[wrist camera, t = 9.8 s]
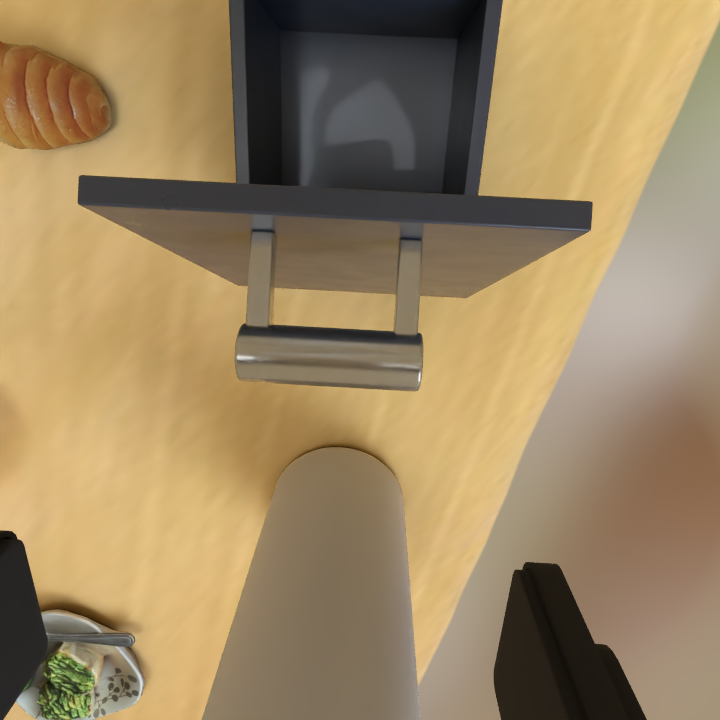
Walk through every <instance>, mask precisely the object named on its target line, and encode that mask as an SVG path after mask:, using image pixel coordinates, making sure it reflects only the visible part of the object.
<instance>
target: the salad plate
mask: <svg viewBox="0 0 720 720" xmlns="http://www.w3.org/2000/svg"><path fill="white" fill-rule="evenodd" d="M41 615H42V619H43V623H44V627H45V631H46V635H47V639H48V647H47V652H46V655H45V657H44V659H43V661H42V663H41V665H40V666H39V667H38V669H37V670H36V672H35V673H34V675H33V676H32V678H31V679H30V681H29V682H28V684H27V685H26V687H25V688H24V690H23V691H22V693H21V694H20V696H19V697H18V698H17V700H16V702H17V703H18V704H19V706H20V707H21V708H22V709H23V710H24V711H26V712H27V713H28V714H29V715H31V716H32V717H33V718H35V719H37V720H94V719H96V718H99V717H101V716H105V715H107V714H110V713H114V712H118V711H120V710H123V709H125V708H128V707H130V706H132V705H134V704H135V703H136V702H137V701H138V699H139V697H140V696H141V695H142V693H143V688H144V684H145V679H144V676H143V674H142V672H141V669H140V667H139V665H138V662H137V659H136V657H135V655H134V653H133V652H132V651H131V650H130V649H129V648H128V647H130V646H132V645H133V644H134V642H135V638H134V636H133V635H132V634H130V633H127V632H123V631H114V630H112V629H110V628H109V627H106V626H103V625H101V624H98V623H96V622H94V621H93V620H91V619H89V618H87V617H84V616H81V615H78V614H74V613H71V612H68V611H65V610H49V611H43V612H41Z"/></svg>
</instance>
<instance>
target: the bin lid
mask: <svg viewBox="0 0 720 720" xmlns="http://www.w3.org/2000/svg"><path fill="white" fill-rule="evenodd" d="M78 204H79V205H81V206H83V207H85V208H87V209H89V210H91V211H93V212H95V213H97V214H99V215H101V216H103V217H105V218H107V219H109V220H110V221H112V222H114V223H116V224H118V225H120V226H122V227H124V228H126V229H128V230H130V231H132V232H134V233H136V234H138V235H140V236H142V237H144V238H146V239H148V240H150V241H152V242H154V243H156V244H158V245H160V246H162V247H163V248H165V249H167V250H169V251H171V252H173V253H175V254H177V255H179V256H181V257H183V258H185V259H187V260H189V261H191V262H193V263H195V264H197V265H199V266H201V267H203V268H205V269H207V270H209V271H211V272H213V273H215V274H217V275H218V276H220V277H222V278H224V279H226V280H228V281H230V282H232V283H234V284H236V285H238V286H248V294H247V313H246V323H245V324H243V325H241V327H240V329H239V332H238V335H237V339H236V346H235V368H236V373H237V377H238V379H239V380H240V381H243V382H260V383H278V384H295V385H313V386H330V387H348V388H365V389H383V390H401V391H418V390H419V387H420V384H421V377H422V368H423V338H422V335H421V334H420V333H418V317H419V300H420V296H437V297H456V298H467V297H469V296H471V295H473V294H475V293H477V292H478V291H480V290H482V289H484V288H486V287H488V286H489V285H491V284H493V283H495V282H497V281H499V280H501V279H502V278H504V277H506V276H508V275H510V274H512V273H513V272H515V271H517V270H519V269H521V268H523V267H525V266H526V265H528V264H530V263H532V262H534V261H536V260H537V259H539V258H541V257H543V256H545V255H547V254H549V253H550V252H552V251H554V250H556V249H558V248H560V247H561V246H563V245H565V244H567V243H569V242H571V241H572V240H574V239H576V238H578V237H580V236H582V235H584V234H585V233H587V232H589V231H590V230H591V220H592V202H590V201H574V200H554V199H535V198H515V197H496V196H476V195H457V194H437V193H418V192H399V191H379V190H360V189H340V188H321V187H301V186H282V185H262V184H243V183H223V182H204V181H185V180H165V179H146V178H126V177H107V176H87V175H81V176H79V184H78ZM274 288H290V289H308V290H327V291H345V292H364V293H382V294H396V297H395V315H394V331H376V330H358V329H340V328H322V327H304V326H286V325H273V307H274Z"/></svg>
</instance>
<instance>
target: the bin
mask: <svg viewBox="0 0 720 720" xmlns="http://www.w3.org/2000/svg"><path fill="white" fill-rule="evenodd" d="M502 2H503V0H229V16H230V40H231V65H232V89H233V113H234V137H235V162H236V183H243V184H262V185H282V186H301V187H321V188H340V189H360V190H379V191H399V192H418V193H437V194H457V195H476V196H478V191H479V183H480V175H481V167H482V160H483V152H484V144H485V136H486V128H487V120H488V112H489V105H490V97H491V89H492V81H493V73H494V65H495V57H496V49H497V42H498V34H499V26H500V18H501V10H502Z"/></svg>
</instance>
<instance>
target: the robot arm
mask: <svg viewBox="0 0 720 720" xmlns="http://www.w3.org/2000/svg"><path fill="white" fill-rule="evenodd" d="M47 647H48V639H47V635H46V631H45V627H44V623H43V619H42V615H41V611H40V607H39V603H38V599H37V595H36V591H35V587H34V583H33V579H32V575H31V571H30V567H29V563H28V559H27V555H26V551H25V547H24V544H23V542H22V541H21V540H18V539H17V537H16V534H14V533H13V532H12V531H0V720H3V719H4V718H5V716H6V715H7V713H8V712H9V710H10V709H11V707H12V706H13V704H14V703H15V701H16V700H17V698H18V697H19V696H20V694H21V693H22V691H23V690H24V688H25V687H26V685H27V684H28V682H29V681H30V679H31V678H32V676H33V675H34V673H35V672H36V670H37V669H38V667H39V666H40V665H41V663H42V661H43V659H44V657H45V655H46V652H47ZM494 687H495V693H496V698H497V702H498V706H499V711H500V716H501V720H647V719H646V717H645V715H644V713H643V711H642V709H641V707H640V705H639V703H638V701H637V698H636V697H635V694H634V692H633V690H632V688H631V686H630V684H629V682H628V680H627V678H626V676H625V674H624V672H623V670H622V668H621V665H620V663H619V661H618V659H617V658H616V656H615V654H614V653H613V651H612V650H611V649H610V648H609V647H608V646H607V645H603V644H595V643H594V641H593V639H592V637H591V634H590V632H589V630H588V628H587V626H586V623H585V621H584V619H583V617H582V614H581V612H580V610H579V608H578V606H577V604H576V601H575V599H574V597H573V595H572V592H571V590H570V588H569V586H568V584H567V581H566V579H565V577H564V575H563V572H562V570H561V569H560V567H559V566H558V565H557V564H549V563H533V562H526V563H525V564H524V566H523V569H522V570H515V571H514V573H513V577H512V582H511V587H510V592H509V597H508V602H507V607H506V612H505V617H504V622H503V627H502V632H501V638H500V642H499V647H498V652H497V657H496V662H495V667H494Z"/></svg>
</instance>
